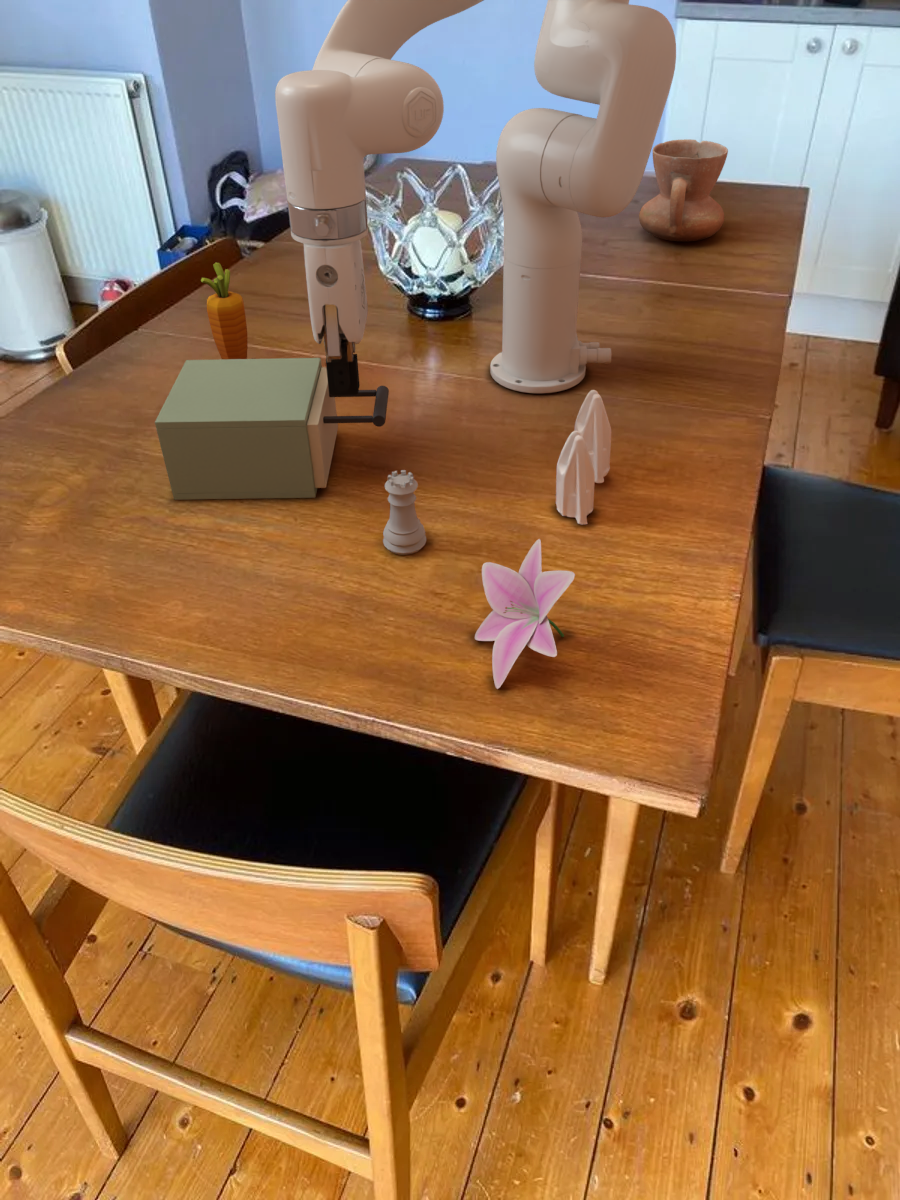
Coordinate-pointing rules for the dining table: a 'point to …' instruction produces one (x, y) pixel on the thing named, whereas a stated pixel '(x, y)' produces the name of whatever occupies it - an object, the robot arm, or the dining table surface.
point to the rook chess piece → (403, 516)
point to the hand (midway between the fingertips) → (344, 391)
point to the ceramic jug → (685, 191)
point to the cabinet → (240, 429)
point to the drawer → (335, 423)
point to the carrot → (227, 317)
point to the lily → (520, 610)
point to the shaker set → (584, 460)
